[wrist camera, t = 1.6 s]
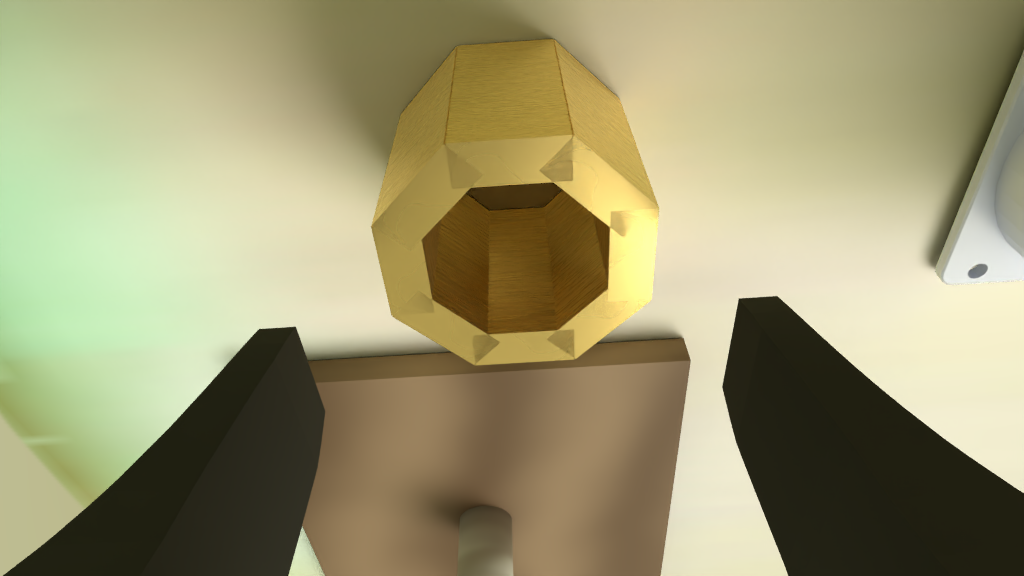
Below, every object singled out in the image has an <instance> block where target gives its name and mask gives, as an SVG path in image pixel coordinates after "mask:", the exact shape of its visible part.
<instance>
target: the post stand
mask: <svg viewBox="0 0 1024 576" xmlns="http://www.w3.org/2000/svg"><path fill="white" fill-rule="evenodd" d="M690 361H691V360H690V357H689V354H688V351H687V348H686V345H685V342H684V338H681V339H665V340H648V341H632V342H615V343H599V344H595V345H593V346H592V347H591V348H589V349H588V350H587V351H586V352H584V353H583V354H582V355H580V356H579V357H578V358H577V359H575V358H574V360H558V361H542V362H525V363H508V364H491V365H476V364H475V365H473V364H471V363H470V362H468V361H466V360H465V359H463V358H461V357H460V356H458V355H456V354H455V353H453V352H450V353H433V354H417V355H400V356H384V357H367V358H351V359H334V360H318V361H308V363H309V366H310V369H311V372H312V374H313V377H314V380H315V383H316V386H317V389H318V391H319V394H320V397H321V400H322V403H323V406H324V408H325V418H324V426H323V434H322V442H321V449H320V455H319V462H318V468H317V472H316V476H315V480H314V483H313V487H312V491H311V495H310V498H309V502H308V506H307V509H306V513H305V517H304V520H303V524H302V526H303V528H304V530H305V532H306V535H307V537H308V539H309V541H310V543H311V546H312V548H313V550H314V552H315V554H316V556H317V559H318V561H319V563H320V565H321V567H322V570H323V572H324V574H325V576H660V575H661V568H662V561H663V554H664V547H665V540H666V532H667V525H668V518H669V511H670V504H671V497H672V490H673V482H674V475H675V468H676V461H677V454H678V447H679V440H680V433H681V425H682V418H683V411H684V404H685V397H686V390H687V383H688V376H689V368H690Z"/></svg>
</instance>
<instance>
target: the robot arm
mask: <svg viewBox="0 0 1024 576" xmlns="http://www.w3.org/2000/svg"><path fill="white" fill-rule="evenodd" d="M975 265H977V266H976V267H974V268H973V269H971V268H972V267H973V266H975ZM935 272H936V274H937V276H938V277H939V278H940V279H941V281H942V282H944V283H946V284H949V285H960V284H976V283H993V282H1009V281H1024V51H1023V54H1022V56H1021V59H1020V61H1019V63H1018V66H1017V68H1016V71H1015V73H1014V76H1013V78H1012V81H1011V83H1010V86H1009V88H1008V90H1007V93H1006V95H1005V98H1004V100H1003V103H1002V105H1001V108H1000V110H999V113H998V115H997V118H996V120H995V122H994V125H993V127H992V130H991V132H990V135H989V137H988V140H987V142H986V145H985V147H984V149H983V152H982V154H981V157H980V159H979V162H978V164H977V167H976V169H975V172H974V174H973V177H972V179H971V181H970V184H969V186H968V189H967V191H966V194H965V196H964V199H963V201H962V204H961V206H960V208H959V211H958V213H957V216H956V218H955V221H954V223H953V226H952V228H951V231H950V233H949V236H948V238H947V240H946V243H945V245H944V248H943V250H942V253H941V255H940V258H939V260H938V263H937V265H936V270H935ZM722 387H723V391H724V396H725V400H726V404H727V408H728V412H729V416H730V420H731V424H732V428H733V432H734V435H735V439H736V443H737V445H738V448H739V451H740V453H741V456H742V459H743V461H744V464H745V466H746V469H747V471H748V474H749V477H750V479H751V482H752V484H753V487H754V489H755V492H756V494H757V497H758V499H759V502H760V505H761V507H762V510H763V512H764V515H765V517H766V520H767V522H768V525H769V527H770V530H771V532H772V535H773V537H774V540H775V542H776V545H777V547H778V550H779V552H780V555H781V557H782V560H783V562H784V565H785V567H786V570H787V573H788V576H1024V493H1022V492H1021V491H1019V490H1018V489H1016V488H1015V487H1013V486H1012V485H1010V484H1009V483H1007V482H1006V481H1004V480H1003V479H1001V478H1000V477H998V476H997V475H995V474H994V473H992V472H991V471H989V470H988V469H986V468H985V467H984V466H982V465H981V464H979V463H978V462H976V461H975V460H973V459H972V458H970V457H969V456H967V455H966V454H965V453H963V452H962V451H960V450H959V449H958V448H956V447H955V446H953V445H952V444H951V443H949V442H948V441H947V440H945V439H944V438H942V437H941V436H940V435H939V434H937V433H936V432H935V431H933V430H932V429H931V428H929V427H928V426H927V425H926V424H924V423H923V422H922V421H920V420H919V419H918V418H917V417H915V416H914V415H913V414H911V413H910V412H909V411H907V410H906V409H905V408H904V407H902V406H901V405H900V404H899V403H897V402H896V401H895V400H894V399H893V398H891V397H890V396H889V395H888V394H886V393H885V392H884V391H883V390H882V389H880V388H879V387H878V386H877V385H876V384H875V383H873V382H872V381H871V380H870V379H869V378H867V377H866V376H865V375H864V374H863V373H862V372H861V371H859V370H858V369H857V368H856V367H855V366H854V365H852V364H851V363H850V362H849V361H848V360H847V359H846V358H845V357H843V356H842V355H841V354H840V353H839V352H838V351H837V350H836V349H835V348H833V347H832V346H831V345H830V344H829V343H828V342H827V341H826V340H825V339H823V338H822V337H821V336H820V335H819V334H818V333H817V332H816V331H815V330H814V329H813V328H811V327H810V326H809V325H808V324H807V323H806V322H805V321H804V320H803V319H802V318H801V317H800V316H799V315H797V314H796V313H795V312H794V311H793V310H792V309H791V308H790V307H789V306H788V305H787V304H785V303H784V302H783V301H782V300H781V299H780V298H779V297H778V296H773V297H757V298H742V299H739V301H738V307H737V312H736V317H735V323H734V328H733V333H732V339H731V344H730V349H729V354H728V360H727V365H726V370H725V376H724V381H723V386H722ZM324 418H325V408H324V406H323V403H322V400H321V397H320V394H319V391H318V389H317V386H316V383H315V380H314V377H313V374H312V372H311V369H310V366H309V363H308V360H307V357H306V355H305V352H304V349H303V346H302V343H301V341H300V338H299V335H298V332H297V329H296V327H286V328H271V329H259V330H258V331H257V332H256V333H255V334H254V335H253V336H252V337H251V338H250V339H249V341H248V342H247V343H246V344H245V345H244V346H243V347H242V348H241V349H240V351H239V352H238V353H237V354H236V355H235V356H234V357H233V358H232V360H231V361H230V362H229V363H228V364H227V365H226V366H225V367H224V369H223V370H222V371H221V372H220V373H219V374H218V375H217V376H216V377H215V379H214V380H213V381H212V382H211V383H210V384H209V385H208V386H207V388H206V389H205V390H204V391H203V392H202V393H201V394H200V395H199V396H198V397H197V399H196V400H195V401H194V402H193V403H192V404H191V405H190V406H189V407H188V408H187V409H186V410H185V412H184V413H183V414H182V415H181V416H180V417H179V418H178V419H177V420H176V421H175V422H174V423H173V425H172V426H171V427H170V428H169V429H168V430H167V431H166V432H165V433H164V434H163V435H162V436H161V437H160V438H159V439H158V440H157V441H156V442H155V443H154V444H153V445H152V446H151V447H150V448H149V449H148V450H147V451H146V452H145V453H144V454H143V455H142V456H141V457H140V458H139V459H138V460H137V461H136V462H135V463H134V464H133V465H132V466H131V467H130V468H129V469H128V470H127V471H126V472H125V473H124V474H123V475H122V476H121V477H120V478H119V479H118V480H116V481H115V482H114V483H113V484H112V485H111V486H110V487H109V488H108V489H107V490H106V491H105V492H104V493H102V494H101V495H100V496H99V497H98V498H97V499H96V500H95V501H94V502H92V503H91V504H90V505H89V506H88V507H87V508H86V509H85V510H83V511H82V512H81V513H80V514H79V515H78V516H76V517H75V518H74V519H73V520H72V521H71V522H69V523H68V524H67V525H66V526H65V527H64V528H63V529H61V530H60V531H59V532H58V533H57V534H56V535H54V536H53V537H52V538H51V539H49V540H48V541H47V542H46V543H45V544H43V545H42V546H41V547H40V548H38V549H37V550H36V551H34V552H33V553H32V554H31V555H29V556H28V557H27V558H25V559H24V560H23V561H21V562H20V563H19V564H17V565H16V566H15V567H14V568H12V569H11V570H10V571H8V572H7V573H6V574H5V575H3V576H288V574H289V571H290V567H291V564H292V560H293V556H294V553H295V549H296V546H297V542H298V538H299V535H300V531H301V528H302V524H303V520H304V517H305V513H306V509H307V506H308V502H309V498H310V495H311V491H312V487H313V483H314V480H315V476H316V472H317V468H318V462H319V455H320V449H321V442H322V434H323V426H324Z"/></svg>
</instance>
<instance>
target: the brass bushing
mask: <svg viewBox="0 0 1024 576" xmlns="http://www.w3.org/2000/svg"><path fill="white" fill-rule="evenodd" d="M549 182H554V183H555V184H556V185H557V186H559V187H560V188H561V189H562V191H561V192H560V193H558V194H557V195H556V196H555V197H554V198H553V199H552V200H551V201H550V202H549V203H548V204H547V205H546V206H545V207H539V208H523V209H508V210H493V211H489V210H488V209H486V208H485V207H484V206H482V205H481V204H480V203H478V202H477V201H475V200H474V199H473V198H471V197H470V196H469V195H467V194H466V192H467V191H468V190H469V189H470V188H474V187H489V186H504V185H519V184H534V183H549ZM658 215H659V207H658V204H657V201H656V198H655V196H654V193H653V190H652V187H651V185H650V182H649V179H648V176H647V174H646V171H645V168H644V165H643V162H642V160H641V157H640V154H639V151H638V149H637V146H636V143H635V140H634V138H633V135H632V132H631V129H630V127H629V124H628V121H627V118H626V115H625V113H624V110H623V107H622V104H621V102H620V99H619V98H618V97H617V96H616V95H614V94H613V93H612V92H611V91H610V90H609V89H608V88H607V87H606V86H605V85H604V84H602V83H601V82H600V81H599V80H598V79H597V78H596V77H595V76H594V75H593V74H592V73H590V72H589V71H588V70H587V69H586V68H585V67H584V66H583V65H582V64H581V63H580V62H578V61H577V60H576V59H575V58H574V57H573V56H572V55H571V54H570V53H569V52H568V51H566V50H565V49H564V48H563V47H562V46H561V45H560V44H559V43H558V42H557V41H556V40H553V39H543V40H529V41H515V42H501V43H487V44H473V45H459V46H458V47H457V46H456V47H455V49H454V50H453V51H452V52H451V54H450V55H449V56H448V57H447V58H446V60H445V61H444V62H443V63H442V65H441V66H440V67H439V68H438V69H437V71H436V72H435V73H434V74H433V75H432V77H431V78H430V79H429V80H428V82H427V83H426V84H425V85H424V86H423V88H422V89H421V90H420V91H419V93H418V94H417V95H416V96H415V97H414V99H413V100H412V101H411V102H410V104H409V105H408V106H407V107H406V108H405V110H404V111H403V112H402V113H401V115H400V119H399V123H398V127H397V131H396V134H395V138H394V142H393V146H392V150H391V153H390V157H389V161H388V165H387V169H386V173H385V176H384V180H383V184H382V188H381V192H380V195H379V199H378V203H377V207H376V211H375V215H374V218H373V222H372V226H371V228H372V233H373V237H374V241H375V246H376V250H377V254H378V259H379V263H380V267H381V272H382V276H383V280H384V284H385V289H386V293H387V297H388V302H389V306H390V310H391V315H393V317H394V318H396V319H397V320H399V321H401V322H402V323H404V324H406V325H408V326H409V327H411V328H413V329H414V330H416V331H418V332H419V333H421V334H423V335H424V336H426V337H428V338H429V339H431V340H433V341H434V342H436V343H438V344H439V345H441V346H443V347H445V348H446V349H448V350H450V351H451V352H453V353H455V354H456V355H458V356H460V357H461V358H463V359H465V360H466V361H468V362H470V363H471V364H473V365H475V364H476V365H491V364H508V363H525V362H542V361H558V360H574V358H575V359H577V358H578V357H579V356H580V355H582V354H583V353H584V352H586V351H587V350H588V349H589V348H591V347H592V346H593V345H595V344H596V343H597V342H598V341H600V340H601V339H602V338H603V337H605V336H606V335H607V334H609V333H610V332H611V331H612V330H614V329H615V328H616V327H618V326H619V325H620V324H621V323H623V322H624V321H625V320H627V319H628V318H629V317H630V316H632V315H633V314H634V313H636V312H637V311H638V310H639V309H641V308H642V307H643V306H644V305H646V304H647V303H648V302H650V301H651V300H650V299H652V287H653V275H654V263H655V251H656V239H657V227H658Z"/></svg>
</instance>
